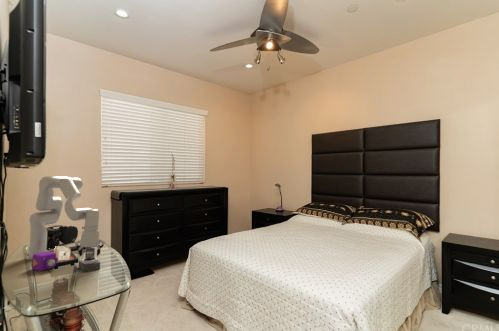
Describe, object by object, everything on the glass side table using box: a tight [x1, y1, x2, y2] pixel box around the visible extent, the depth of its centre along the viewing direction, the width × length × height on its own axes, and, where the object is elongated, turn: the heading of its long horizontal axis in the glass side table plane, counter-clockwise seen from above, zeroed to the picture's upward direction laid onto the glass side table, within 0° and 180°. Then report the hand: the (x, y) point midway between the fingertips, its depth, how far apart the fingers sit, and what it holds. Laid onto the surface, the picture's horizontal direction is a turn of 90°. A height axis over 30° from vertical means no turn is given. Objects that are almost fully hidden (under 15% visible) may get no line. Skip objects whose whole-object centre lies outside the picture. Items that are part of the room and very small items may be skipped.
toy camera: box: [31, 250, 58, 272], centre depth 165 cm, size 11×14×10 cm
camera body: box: [78, 256, 101, 273], centre depth 168 cm, size 12×9×6 cm
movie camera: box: [45, 224, 79, 250], centre depth 216 cm, size 31×18×18 cm, turn 165°
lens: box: [84, 247, 96, 261], centre depth 169 cm, size 5×5×8 cm
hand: (89, 255), depth 169 cm, fingers open, 9 cm apart
